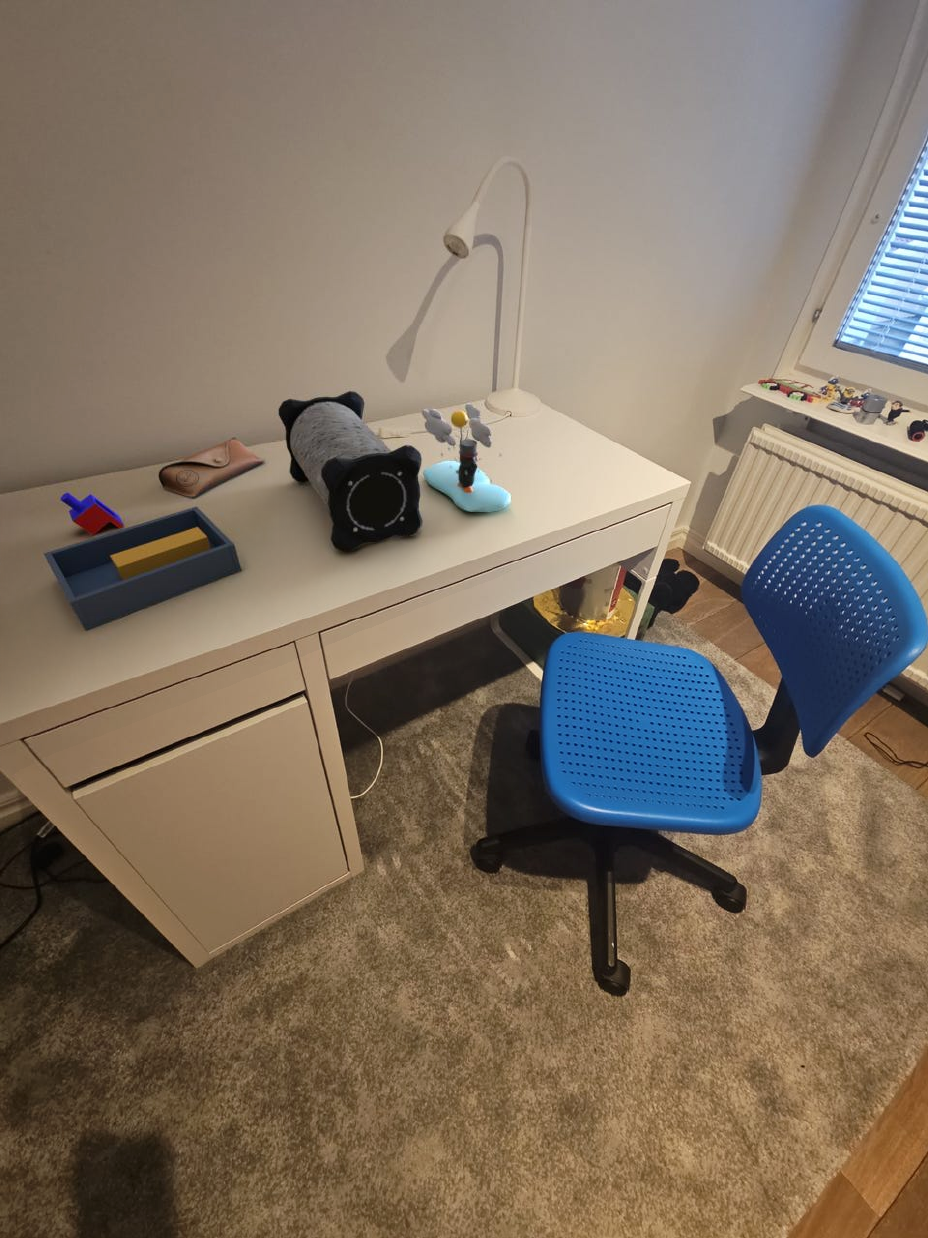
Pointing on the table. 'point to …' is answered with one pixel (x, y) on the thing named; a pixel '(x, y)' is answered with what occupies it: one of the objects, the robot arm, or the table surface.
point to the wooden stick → (160, 553)
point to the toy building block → (90, 513)
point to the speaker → (352, 470)
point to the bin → (109, 597)
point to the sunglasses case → (208, 468)
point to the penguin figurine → (464, 463)
